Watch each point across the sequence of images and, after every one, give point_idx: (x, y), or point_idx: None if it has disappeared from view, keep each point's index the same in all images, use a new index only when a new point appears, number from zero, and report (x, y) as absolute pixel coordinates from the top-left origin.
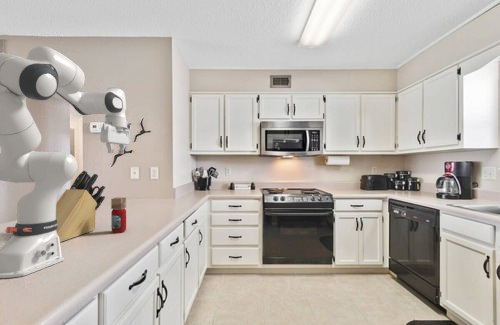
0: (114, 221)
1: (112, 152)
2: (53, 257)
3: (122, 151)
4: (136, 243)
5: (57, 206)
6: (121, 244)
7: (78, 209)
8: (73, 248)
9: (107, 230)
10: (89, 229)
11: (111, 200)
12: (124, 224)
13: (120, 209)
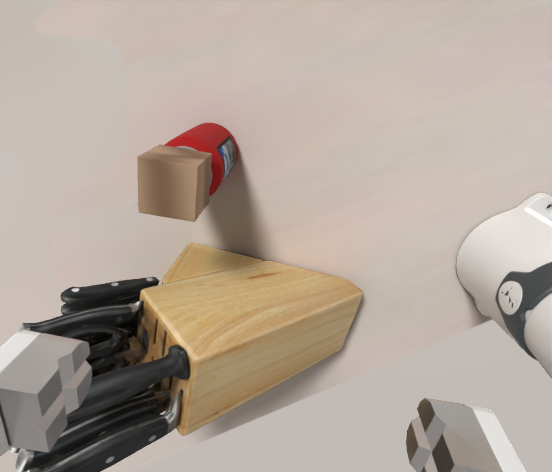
0: (229, 169)
1: (463, 407)
2: (548, 218)
3: (40, 365)
4: (407, 12)
5: (264, 384)
6: (405, 73)
7: (263, 313)
8: (412, 218)
9: None
10: (217, 252)
11: (197, 217)
12: (213, 129)
13: None
